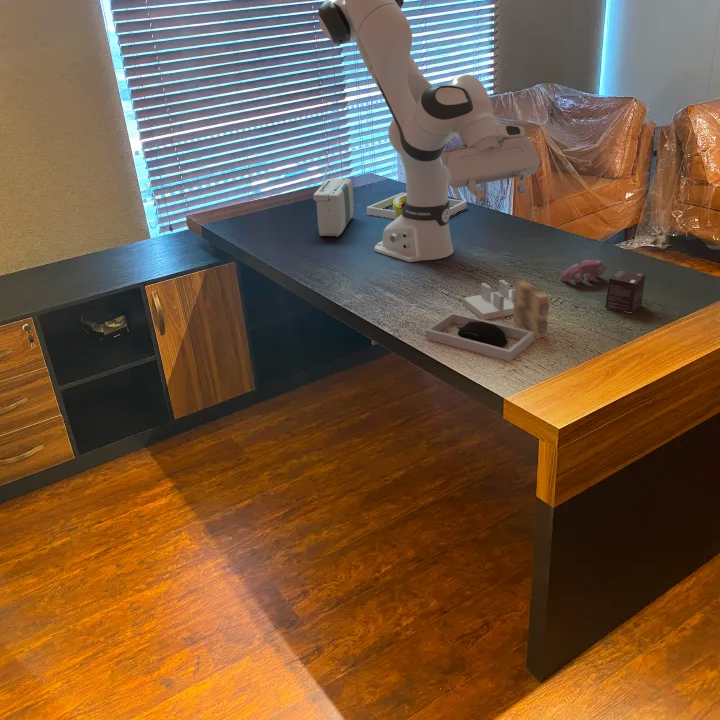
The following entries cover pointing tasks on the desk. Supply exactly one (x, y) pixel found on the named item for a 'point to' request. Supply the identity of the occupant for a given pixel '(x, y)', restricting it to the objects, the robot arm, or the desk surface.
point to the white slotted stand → (492, 301)
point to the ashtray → (397, 202)
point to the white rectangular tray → (379, 211)
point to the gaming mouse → (483, 333)
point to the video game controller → (584, 271)
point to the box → (625, 291)
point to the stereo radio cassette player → (334, 205)
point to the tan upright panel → (530, 308)
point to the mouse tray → (475, 346)
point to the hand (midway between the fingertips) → (502, 195)
